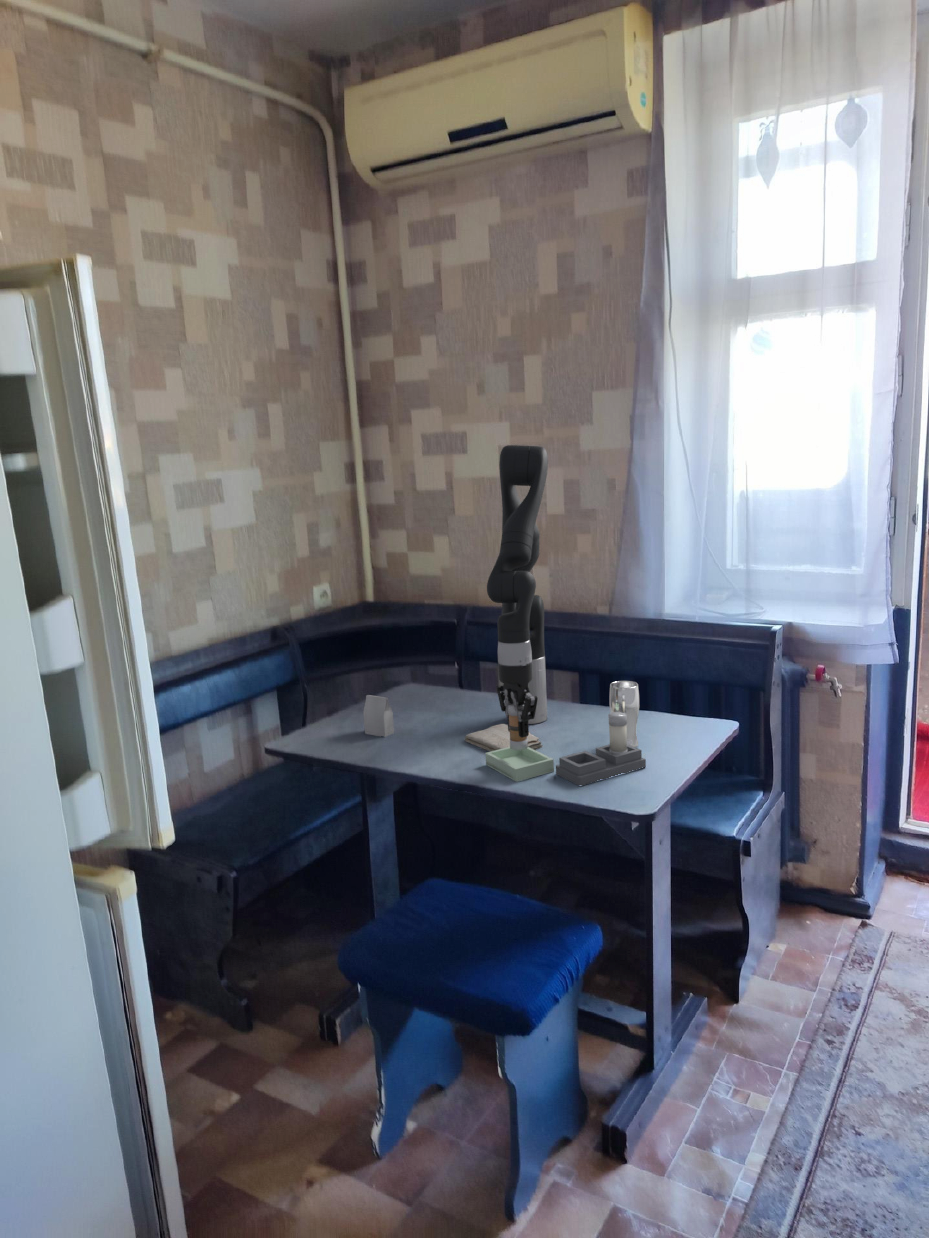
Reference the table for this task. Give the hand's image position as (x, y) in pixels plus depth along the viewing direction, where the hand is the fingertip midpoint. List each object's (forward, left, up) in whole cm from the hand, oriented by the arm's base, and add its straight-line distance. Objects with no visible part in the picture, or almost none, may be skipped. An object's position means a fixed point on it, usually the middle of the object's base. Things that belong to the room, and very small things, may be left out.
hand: (518, 733), depth 204 cm
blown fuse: (0, 0, -3) cm, 3 cm away
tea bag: (-44, -15, -9) cm, 47 cm away
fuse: (+12, +18, -6) cm, 23 cm away
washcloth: (-16, +6, -9) cm, 20 cm away
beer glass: (+2, +29, -9) cm, 30 cm away
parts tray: (0, 0, -8) cm, 8 cm away
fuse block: (+12, +14, -8) cm, 20 cm away
